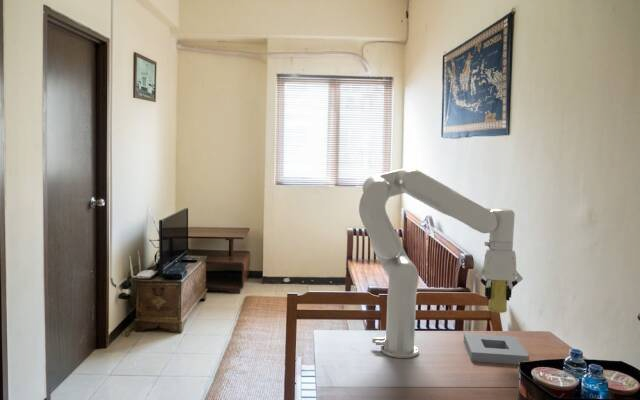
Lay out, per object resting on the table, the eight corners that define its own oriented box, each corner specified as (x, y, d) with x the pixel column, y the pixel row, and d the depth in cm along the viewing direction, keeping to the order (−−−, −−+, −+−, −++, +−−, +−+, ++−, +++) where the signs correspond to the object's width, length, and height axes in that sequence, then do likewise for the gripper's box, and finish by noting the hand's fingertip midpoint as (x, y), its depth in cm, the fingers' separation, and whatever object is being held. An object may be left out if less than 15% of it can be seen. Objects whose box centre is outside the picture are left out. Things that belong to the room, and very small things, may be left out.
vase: (507, 313, 182) (510, 271, 180) (488, 312, 183) (490, 269, 182) (505, 308, 188) (508, 267, 186) (486, 306, 189) (489, 266, 188)
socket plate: (471, 361, 179) (471, 352, 179) (463, 341, 197) (464, 333, 197) (528, 365, 177) (529, 356, 177) (515, 344, 195) (516, 336, 195)
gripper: (476, 246, 181) (473, 300, 182) (530, 249, 178) (526, 303, 180) (472, 242, 188) (469, 294, 190) (524, 245, 186) (521, 297, 188)
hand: (497, 298), depth 185 cm, fingers closed on vase, 5 cm apart
